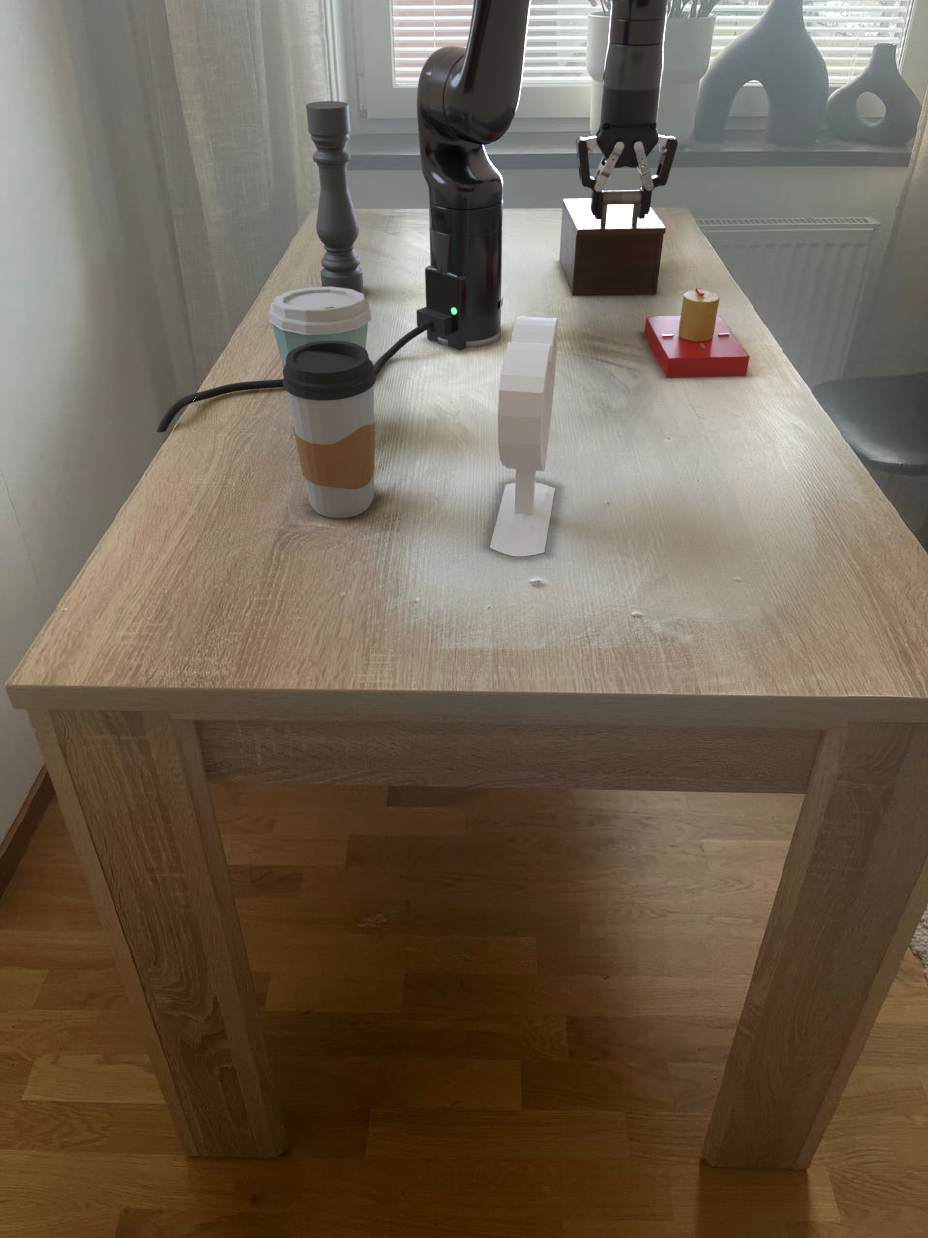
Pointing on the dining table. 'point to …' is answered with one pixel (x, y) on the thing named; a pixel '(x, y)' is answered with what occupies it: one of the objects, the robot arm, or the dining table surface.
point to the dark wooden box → (609, 262)
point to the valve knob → (698, 315)
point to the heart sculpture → (526, 435)
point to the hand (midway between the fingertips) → (619, 217)
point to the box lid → (613, 215)
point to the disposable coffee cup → (319, 317)
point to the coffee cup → (333, 424)
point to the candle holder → (335, 195)
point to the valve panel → (695, 350)
